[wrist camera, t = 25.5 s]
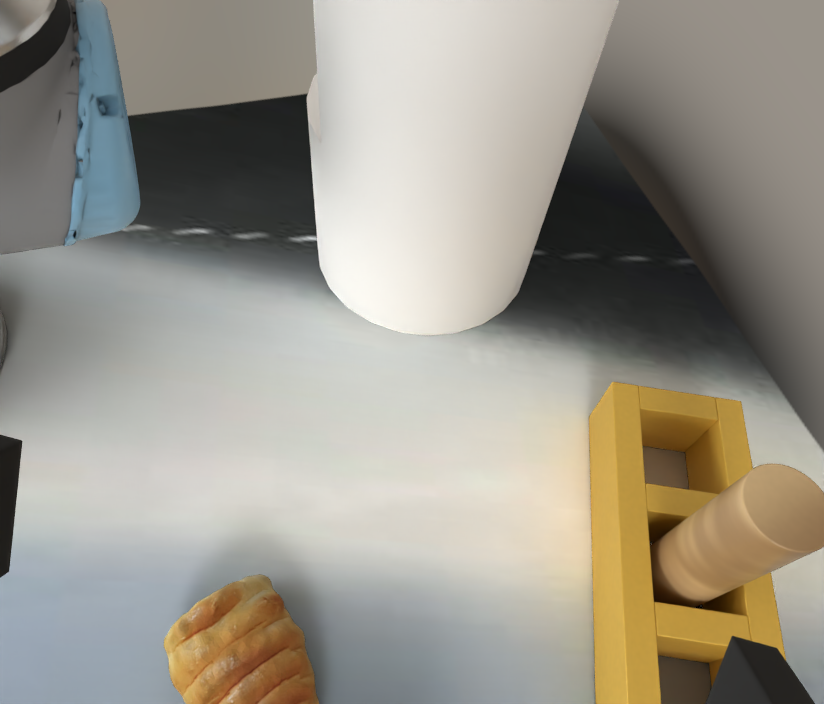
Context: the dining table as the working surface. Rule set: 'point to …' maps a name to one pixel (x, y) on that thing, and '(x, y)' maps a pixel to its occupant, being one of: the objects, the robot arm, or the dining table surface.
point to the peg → (739, 536)
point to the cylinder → (442, 148)
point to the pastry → (240, 649)
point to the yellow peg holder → (650, 520)
